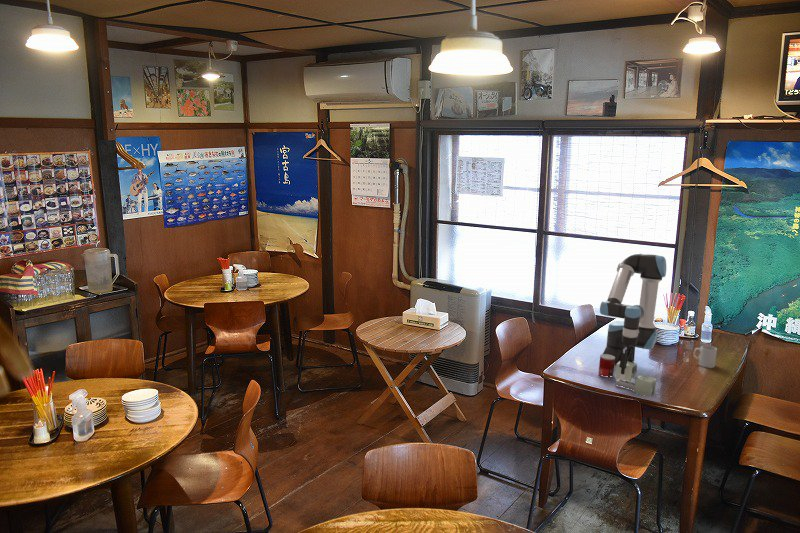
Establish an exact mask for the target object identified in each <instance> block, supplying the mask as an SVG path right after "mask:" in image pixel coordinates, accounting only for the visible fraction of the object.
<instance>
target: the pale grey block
mask: <svg viewBox="0 0 800 533" xmlns="http://www.w3.org/2000/svg"><path fill="white" fill-rule="evenodd" d="M615 381H616V382H615V386H616V385H618V386H623V387H625V388H629V389H632V390H634V391H633V393H634V392H635V393H638V394H637V395H639V394H641V395H640V396H642V395H645V396H644V397H646V396H649V397H650V396H651V397H652V395H653V394H652V393H654V394H656V385H657V378H655V377H652V376H647V375H645V374H639V375H637V377H635V379H634V381H631V382H628V381H625V380H621V379H618V378H616V380H615ZM635 393H634V394H635ZM651 394H652V395H651ZM649 397H648V398H649ZM651 397H650V398H651Z"/></svg>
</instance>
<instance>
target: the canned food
mask: <svg viewBox="0 0 800 533" xmlns="http://www.w3.org/2000/svg"><path fill="white" fill-rule="evenodd" d="M615 365H616V364H615V357H614V356H612V355H609V354H603V353H602V354H600V356H599V363H598V375H599V374H600V375H603V376H608V377H610V376H614V372H615ZM600 375H599V376H600Z"/></svg>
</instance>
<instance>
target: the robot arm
mask: <svg viewBox="0 0 800 533" xmlns="http://www.w3.org/2000/svg"><path fill="white" fill-rule="evenodd" d="M635 274H639V275H640V276H639V277H640V279H641V280H642V284H641V289H640V290H641V291H640V298H639V304H635V305H629V304H625V303H624V304H623V301H624V297H625V295H626V292H627V290H628V286H629V284H630V281H631V277H633V276H634V275H635ZM666 275H667V259H666V258H665V257H664V256H662V255H658V254H651V253H641V252H635V253H630V254H628V255H626V256H625V257H624V258H623V259H621V260H620V261H619V264H618V265H617V267H616V276H615V278H614V282H613V283H612V286H611V289H610V292H609V295H608V296H607V300H603V301H601V303H600V305H599V313H600V314H601V315H602V316H605V317H606V316H607V317H612V318H618V319H622V320H618V321H617V320H616V321H613V322H611V323H609V325H608V328H607V335H606V336H607V337H606V346H605V348H604V350H603V352H602V354H609V355H612V356H614V357H615V365H616V364H617V363H618V362H619V361H620V366H619V367H621V371H620V379H621V380H625V378H626V370H627V368H626V365H627V361H628V362H632V363H635V355H636V354H635V352H636V348H638V349H642V350H652V349H653V348H654V346H655V344H656V341H657V338H658V334H659V331H658V330H657V329H656V325H655V324H654V321H655V320H654V319H655V314H656V313H655V312H656V306H657V298H658V292H659V290H658V289H659V283H660V282H661V281H663V278H666Z"/></svg>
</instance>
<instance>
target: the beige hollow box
mask: <svg viewBox="0 0 800 533" xmlns="http://www.w3.org/2000/svg"><path fill="white" fill-rule="evenodd" d="M615 365H616V366H615V375H614V378H615V379H620V371H621V367H619V366H620V361H619V362H618V363H617V364H615ZM626 368H627V370H626V378H625V381H628V382H632V379H633V380H635V378H636V375H637V371H638V370H637V369H638V363H636V362H634V363H632V362H628V361H627V365H626Z"/></svg>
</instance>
